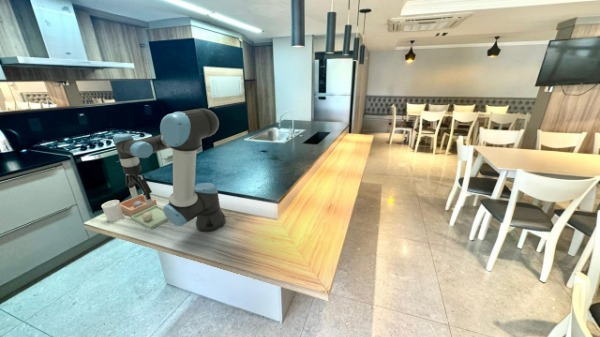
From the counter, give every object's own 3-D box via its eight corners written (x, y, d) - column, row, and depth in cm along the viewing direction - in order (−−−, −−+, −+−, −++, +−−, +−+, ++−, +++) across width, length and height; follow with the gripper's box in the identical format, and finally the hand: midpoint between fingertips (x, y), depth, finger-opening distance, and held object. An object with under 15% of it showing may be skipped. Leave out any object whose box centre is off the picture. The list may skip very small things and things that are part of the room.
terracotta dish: (157, 206, 142) (155, 199, 140) (133, 218, 131) (130, 210, 129) (144, 201, 149) (142, 194, 147) (120, 211, 138) (117, 204, 136)
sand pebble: (155, 219, 129) (153, 211, 127) (146, 223, 125) (144, 216, 123) (150, 216, 131) (148, 209, 130) (141, 221, 127) (139, 213, 126)
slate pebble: (140, 204, 143) (145, 207, 141) (132, 208, 139) (137, 211, 137) (139, 198, 140) (144, 201, 139) (130, 201, 136) (135, 205, 135)
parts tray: (177, 216, 132) (176, 213, 132) (151, 230, 121) (150, 226, 120) (157, 207, 141) (156, 204, 141) (131, 219, 130) (130, 216, 129)
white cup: (110, 224, 126) (103, 208, 122) (105, 219, 130) (99, 204, 126) (126, 217, 132) (121, 202, 128) (121, 213, 136) (116, 198, 132)
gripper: (152, 166, 113) (162, 203, 121) (126, 158, 124) (137, 192, 132) (136, 171, 107) (148, 210, 115) (110, 162, 118) (122, 198, 126)
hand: (142, 201), depth 124 cm, fingers open, 13 cm apart
